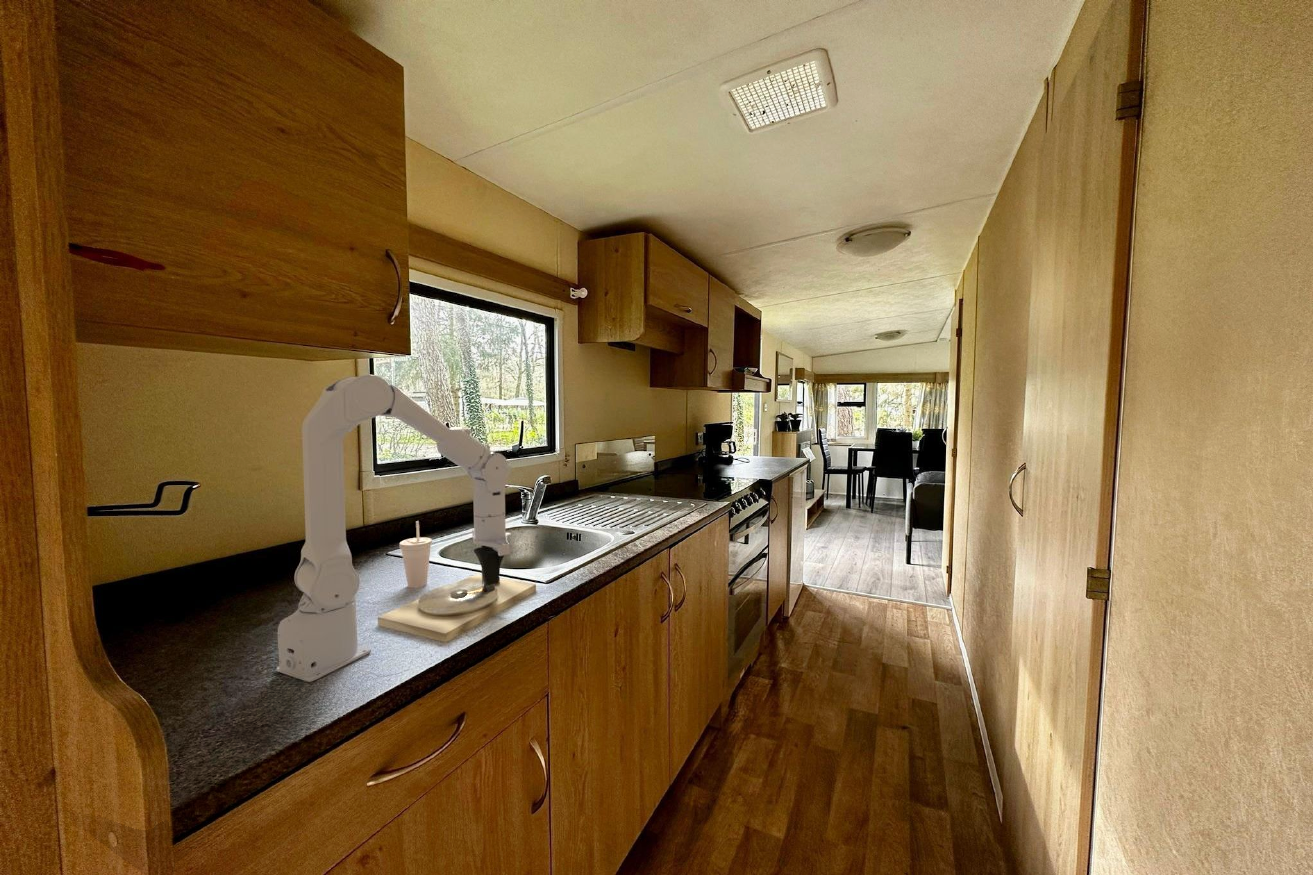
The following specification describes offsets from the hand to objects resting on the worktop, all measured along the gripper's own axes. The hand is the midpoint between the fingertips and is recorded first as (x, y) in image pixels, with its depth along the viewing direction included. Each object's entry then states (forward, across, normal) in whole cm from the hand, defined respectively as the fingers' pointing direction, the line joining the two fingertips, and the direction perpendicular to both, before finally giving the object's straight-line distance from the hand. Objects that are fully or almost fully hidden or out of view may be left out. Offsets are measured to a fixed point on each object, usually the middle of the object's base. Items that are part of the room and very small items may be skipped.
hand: (491, 583), depth 95 cm
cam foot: (+3, +2, +5) cm, 7 cm away
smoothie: (+5, +21, +8) cm, 23 cm away
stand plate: (+4, +2, +5) cm, 7 cm away
